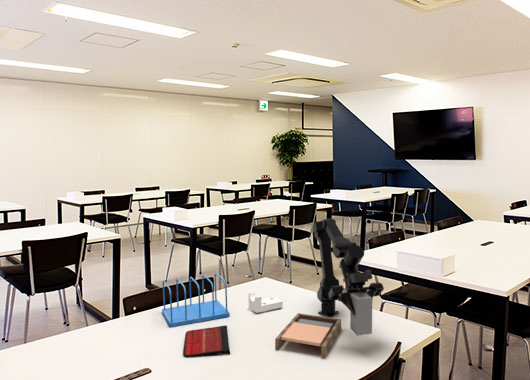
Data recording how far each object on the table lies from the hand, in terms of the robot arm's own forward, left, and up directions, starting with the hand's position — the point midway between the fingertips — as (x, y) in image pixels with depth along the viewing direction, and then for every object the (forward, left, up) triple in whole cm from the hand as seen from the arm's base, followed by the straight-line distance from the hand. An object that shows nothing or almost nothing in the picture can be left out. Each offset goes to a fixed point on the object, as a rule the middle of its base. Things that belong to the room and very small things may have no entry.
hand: (362, 314), depth 146 cm
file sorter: (+11, -71, -14) cm, 73 cm away
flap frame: (+2, -20, -13) cm, 24 cm away
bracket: (-12, -51, -14) cm, 54 cm away
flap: (+3, -19, -13) cm, 23 cm away
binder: (+26, -49, -14) cm, 57 cm away
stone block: (-1, -1, -7) cm, 7 cm away
